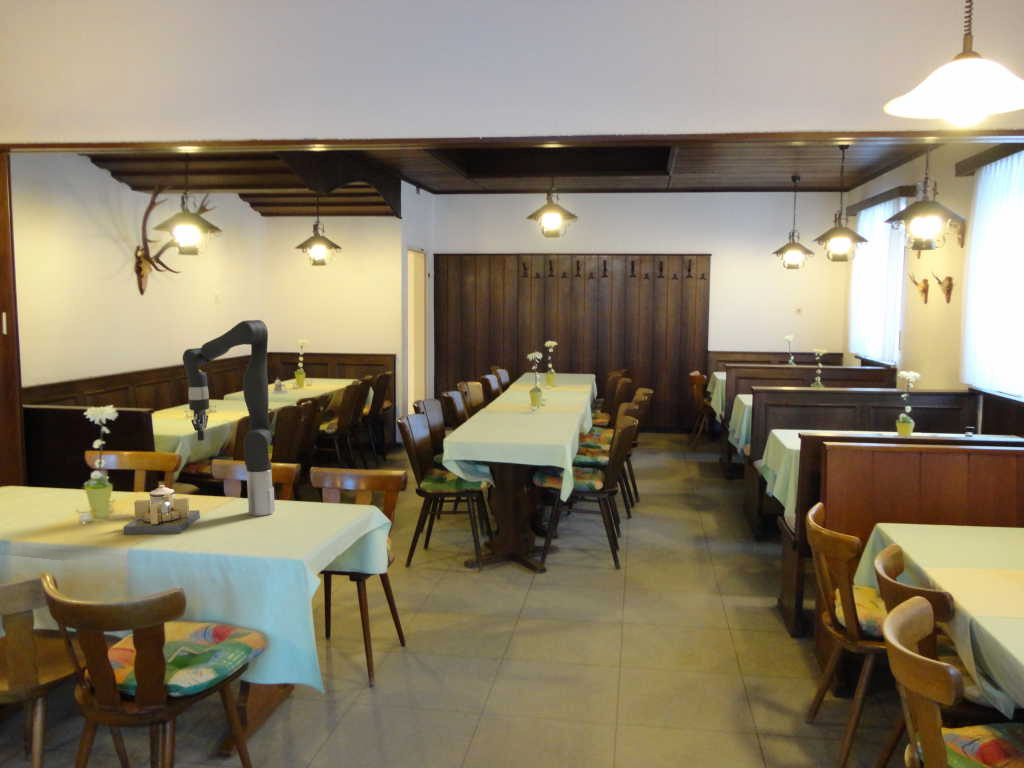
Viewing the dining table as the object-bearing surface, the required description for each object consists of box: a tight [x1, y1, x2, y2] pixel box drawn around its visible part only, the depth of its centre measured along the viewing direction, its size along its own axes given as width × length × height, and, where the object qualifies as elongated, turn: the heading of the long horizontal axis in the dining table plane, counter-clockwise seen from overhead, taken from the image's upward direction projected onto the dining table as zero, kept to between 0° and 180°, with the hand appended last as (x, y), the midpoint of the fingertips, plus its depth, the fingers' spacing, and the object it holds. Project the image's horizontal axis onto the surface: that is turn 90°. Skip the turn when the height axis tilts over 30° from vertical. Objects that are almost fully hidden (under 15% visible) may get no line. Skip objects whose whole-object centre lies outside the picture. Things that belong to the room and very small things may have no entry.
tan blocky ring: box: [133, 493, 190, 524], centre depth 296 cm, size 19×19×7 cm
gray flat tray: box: [123, 500, 201, 536], centre depth 296 cm, size 20×20×9 cm
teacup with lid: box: [148, 484, 176, 506], centre depth 313 cm, size 12×9×12 cm
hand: (201, 440), depth 323 cm, fingers closed
